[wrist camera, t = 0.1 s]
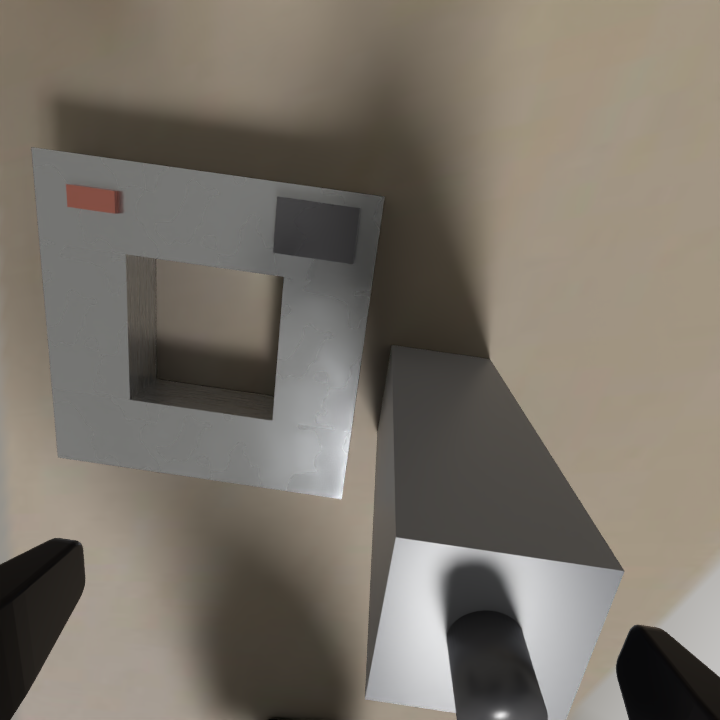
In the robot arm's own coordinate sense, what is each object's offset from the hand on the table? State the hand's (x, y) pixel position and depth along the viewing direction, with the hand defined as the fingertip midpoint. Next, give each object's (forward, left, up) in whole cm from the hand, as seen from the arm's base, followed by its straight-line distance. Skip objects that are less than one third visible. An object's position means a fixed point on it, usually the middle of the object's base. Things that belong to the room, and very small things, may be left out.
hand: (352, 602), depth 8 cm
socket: (0, +7, -15) cm, 16 cm away
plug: (-2, -3, -15) cm, 15 cm away
